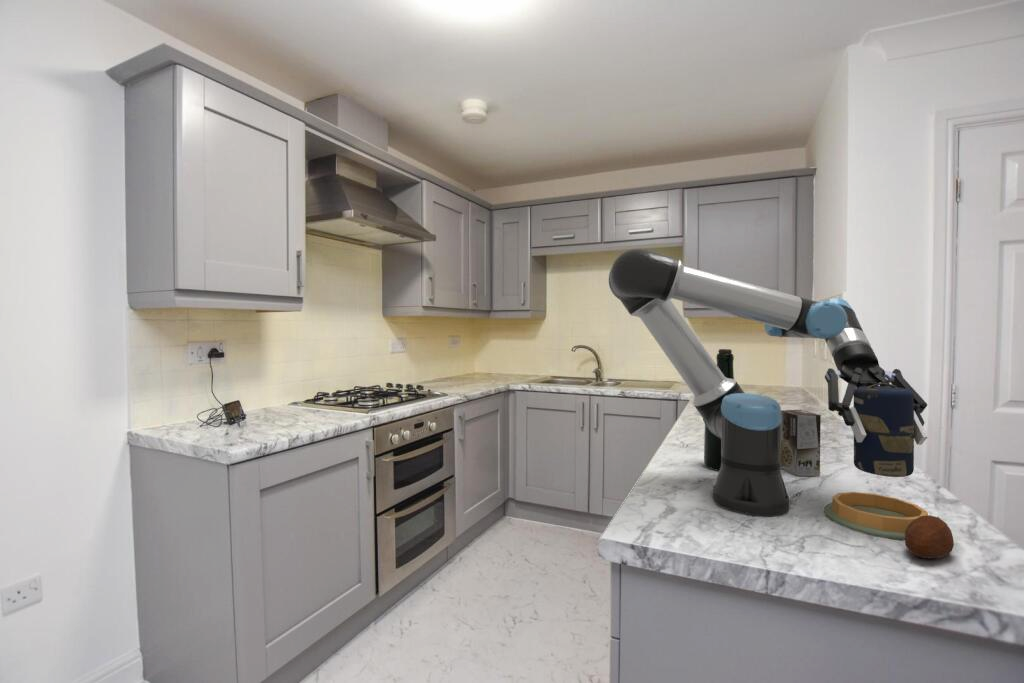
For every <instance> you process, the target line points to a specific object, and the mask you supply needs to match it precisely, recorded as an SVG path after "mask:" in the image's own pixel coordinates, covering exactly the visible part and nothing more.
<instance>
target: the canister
mask: <svg viewBox="0 0 1024 683" xmlns="http://www.w3.org/2000/svg"><path fill="white" fill-rule="evenodd" d="M877 385H878V386H877ZM880 385H887V386H891V387H884V386H880ZM853 407H855V409H856V411H857V413H858V416H859V418H860V420H861V423H862V425H863V428H864V430H865V432H866V437H865V438H864V440H863V441H862V443H860V442H857V441H856V438H855V436H854V435H853V465H854V467H855V468H856V469H857V470H860V471H861V472H865V473H867V474H871V475H876V476H883V477H890V478H905V477H910V476H911V475H913V473H914V470H915V462H914V460H915V452H914V451H915V450H914V449H915V440H914V432H915V431H914V429H915V428H914V396H913V393H912V392H911V391H910V390H908V389H904V388H898V387H896V386H894V385H892V384H891V383H890V384H888V383H878V384H874V385H872V386H863V387H858V388H856V389H855V390H854V395H853Z"/></svg>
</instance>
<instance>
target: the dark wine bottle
mask: <svg viewBox="0 0 1024 683" xmlns="http://www.w3.org/2000/svg"><path fill="white" fill-rule="evenodd" d="M732 352H733V351H732V349H729V348H720V349H718V353H717V354H716V358H715V359H716V365H717V366H718V368H719V369H720V370H721V372H722V373H723V375H724V376H725V377H726V378H730V379H735V375H734V360H735V357H734V354H733V353H732ZM703 436H704V440H703V464H704V465H705V466H706V467H707V468H709V469H711V468H712V469H711V470H716V471H719V470H720V467H721V439H720V438H719V437H717V436H715V435H714V434H713V433H711V432H710V431H709V429H708V428H707V427H706V425H705V424H704V435H703Z"/></svg>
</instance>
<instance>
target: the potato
mask: <svg viewBox="0 0 1024 683" xmlns="http://www.w3.org/2000/svg"><path fill="white" fill-rule="evenodd" d="M954 541H955V540H954V536H953V532H952V529H950V527H949V526H948V524H947V522H945V521H944V520H943V519H942V518H940V517H938V516H934V515H929V514H928V515H927V516H920V517H919V518H917V519H915V520H913V521H912V522H911V523H910V524H909V525H908V527H907V529H906V531H905V540H904V544H905V546H906V548H907V550H908V551H909V552H911V553H912V554H913V555H915V556H917V557H920V558H923V559H924V558H925V559H939V558H942V557H945V556H948V555H950V554H951V553H952V552H953V550H954V546H955V545H954Z"/></svg>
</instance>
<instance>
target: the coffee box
mask: <svg viewBox="0 0 1024 683" xmlns="http://www.w3.org/2000/svg"><path fill="white" fill-rule="evenodd" d="M781 415H782V422H781V466H780V468H781V469H782V468H783V470H784V471H786V472H788V473H789V474H790V473H791V474H792V475H795V476H796V477H820V476H821V426H822V425H821V421H822V420H821V417H822V415H821V414H817V413H814V412H809V411H806V410H802V409H785V410H782V409H781Z"/></svg>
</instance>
